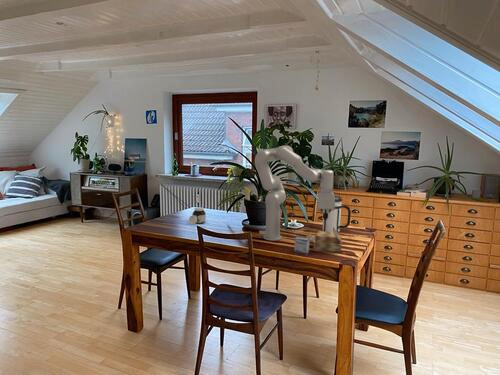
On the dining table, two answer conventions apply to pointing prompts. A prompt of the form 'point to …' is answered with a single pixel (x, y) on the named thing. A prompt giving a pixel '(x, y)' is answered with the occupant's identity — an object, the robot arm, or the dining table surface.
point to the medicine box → (301, 245)
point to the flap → (337, 235)
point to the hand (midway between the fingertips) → (325, 219)
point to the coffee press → (335, 216)
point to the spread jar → (198, 216)
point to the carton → (325, 242)
